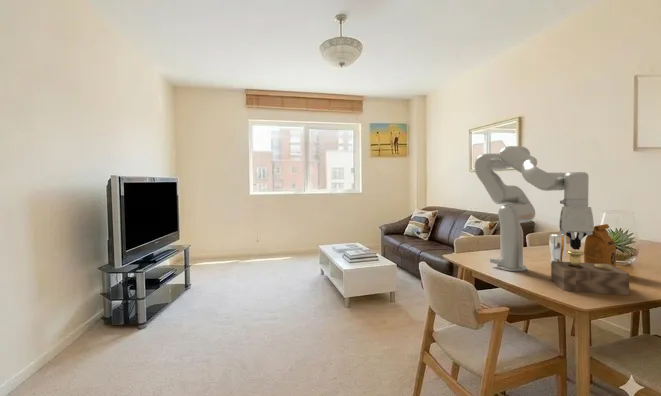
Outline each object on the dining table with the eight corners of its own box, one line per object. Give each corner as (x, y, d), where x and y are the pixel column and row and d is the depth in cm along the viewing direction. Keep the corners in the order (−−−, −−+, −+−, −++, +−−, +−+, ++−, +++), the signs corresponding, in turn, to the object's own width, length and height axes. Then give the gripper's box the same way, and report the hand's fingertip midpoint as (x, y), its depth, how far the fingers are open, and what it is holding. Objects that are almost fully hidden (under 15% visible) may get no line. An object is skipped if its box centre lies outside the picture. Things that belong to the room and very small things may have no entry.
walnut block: (563, 290, 119) (564, 267, 119) (551, 279, 132) (551, 259, 132) (628, 295, 113) (629, 271, 112) (608, 283, 126) (609, 262, 125)
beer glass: (565, 263, 156) (565, 234, 156) (566, 267, 150) (567, 236, 150) (548, 262, 160) (548, 233, 159) (549, 265, 154) (549, 235, 153)
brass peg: (569, 271, 122) (570, 252, 122) (564, 268, 127) (564, 250, 126) (585, 272, 120) (586, 253, 120) (579, 269, 125) (580, 250, 125)
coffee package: (621, 273, 138) (622, 224, 137) (605, 277, 133) (606, 227, 132) (594, 268, 148) (595, 222, 147) (579, 271, 143) (580, 224, 142)
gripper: (557, 203, 121) (556, 250, 122) (604, 203, 116) (603, 251, 117) (550, 202, 128) (550, 246, 129) (594, 202, 123) (593, 247, 124)
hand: (575, 248), depth 123 cm, fingers closed
